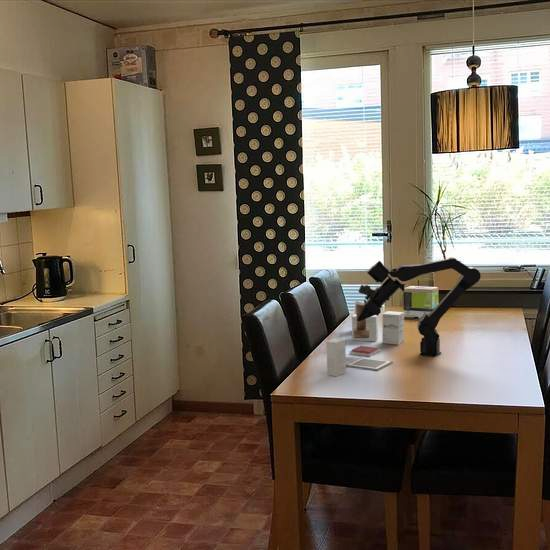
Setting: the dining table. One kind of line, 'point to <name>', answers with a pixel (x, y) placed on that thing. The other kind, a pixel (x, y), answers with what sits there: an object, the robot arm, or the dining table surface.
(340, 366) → the skincare box
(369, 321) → the skincare box
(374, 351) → the ink pad
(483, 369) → the dining table surface
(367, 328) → the walnut stamp
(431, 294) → the tea box
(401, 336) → the supplement box
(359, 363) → the marked board
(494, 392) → the dining table surface
